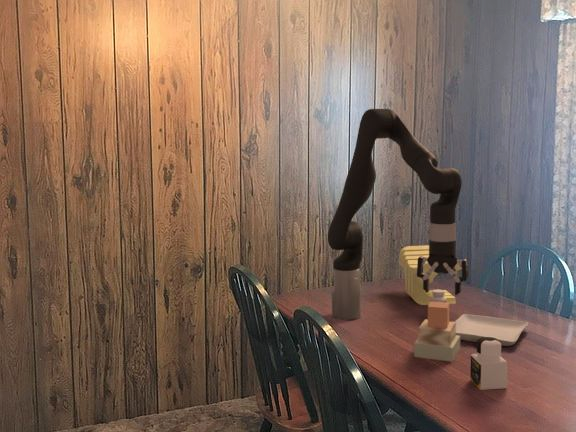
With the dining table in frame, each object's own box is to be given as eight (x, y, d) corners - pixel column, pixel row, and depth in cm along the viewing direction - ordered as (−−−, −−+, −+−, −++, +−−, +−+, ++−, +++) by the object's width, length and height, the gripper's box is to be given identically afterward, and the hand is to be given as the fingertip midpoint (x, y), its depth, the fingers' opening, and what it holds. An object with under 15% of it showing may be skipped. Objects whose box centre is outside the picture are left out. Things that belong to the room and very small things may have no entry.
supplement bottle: (446, 321, 223) (446, 293, 222) (430, 320, 224) (430, 292, 223) (446, 316, 228) (446, 288, 227) (430, 315, 229) (430, 288, 228)
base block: (414, 358, 191) (414, 343, 191) (423, 345, 201) (423, 331, 201) (452, 363, 187) (452, 347, 186) (460, 350, 197) (460, 335, 196)
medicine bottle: (469, 379, 174) (470, 335, 172) (496, 377, 174) (497, 334, 173) (480, 390, 167) (480, 344, 165) (507, 388, 167) (508, 343, 166)
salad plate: (529, 331, 212) (529, 320, 211) (514, 352, 194) (515, 340, 193) (463, 322, 222) (463, 312, 222) (443, 341, 204) (444, 330, 204)
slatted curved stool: (399, 290, 264) (399, 246, 261) (438, 288, 265) (438, 244, 262) (419, 312, 234) (419, 262, 231) (464, 309, 235) (464, 260, 233)
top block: (418, 343, 191) (418, 328, 190) (425, 333, 199) (425, 319, 198) (450, 346, 187) (450, 331, 186) (455, 336, 195) (455, 322, 195)
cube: (427, 326, 191) (427, 306, 190) (430, 321, 196) (430, 301, 195) (447, 328, 189) (447, 307, 188) (449, 322, 194) (449, 302, 193)
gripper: (414, 239, 189) (414, 294, 191) (465, 241, 183) (464, 298, 185) (420, 234, 196) (420, 288, 198) (470, 237, 190) (469, 292, 192)
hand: (442, 293), depth 192 cm, fingers open, 8 cm apart
